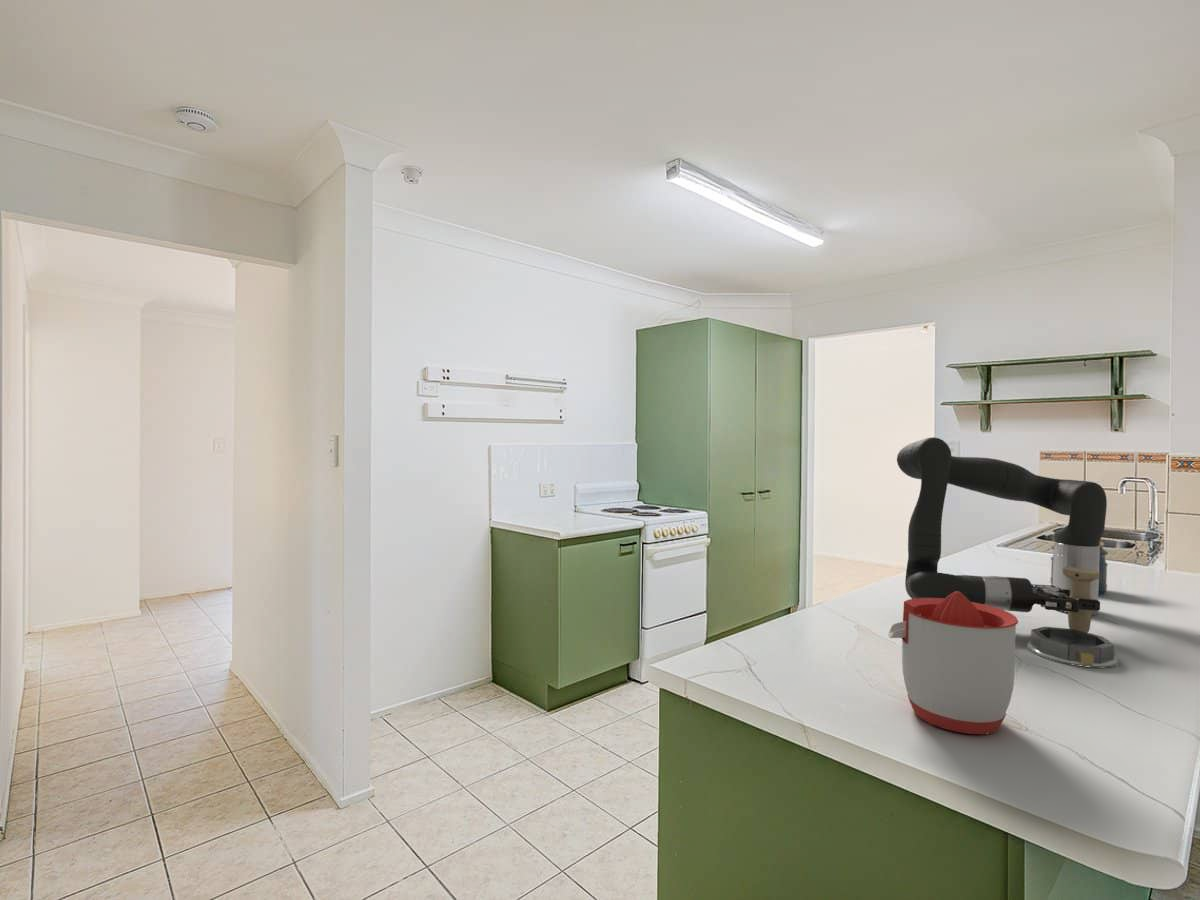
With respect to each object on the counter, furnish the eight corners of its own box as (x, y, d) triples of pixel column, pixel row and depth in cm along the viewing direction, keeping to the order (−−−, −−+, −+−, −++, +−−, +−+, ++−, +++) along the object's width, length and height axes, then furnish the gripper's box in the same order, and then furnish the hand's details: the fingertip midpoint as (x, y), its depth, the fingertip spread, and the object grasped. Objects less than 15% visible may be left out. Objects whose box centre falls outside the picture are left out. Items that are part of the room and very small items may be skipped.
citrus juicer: (884, 689, 106) (887, 574, 105) (1002, 707, 99) (1005, 585, 99) (889, 728, 91) (892, 596, 91) (1027, 753, 85) (1031, 610, 84)
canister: (1066, 594, 171) (1067, 532, 171) (1040, 583, 184) (1042, 525, 184) (1118, 597, 169) (1120, 534, 169) (1088, 585, 182) (1090, 527, 182)
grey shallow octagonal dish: (1017, 638, 133) (1017, 622, 133) (1096, 646, 128) (1097, 629, 128) (1042, 662, 119) (1043, 644, 119) (1132, 672, 114) (1133, 653, 114)
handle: (1093, 644, 130) (1095, 574, 130) (1057, 636, 135) (1059, 568, 135) (1100, 639, 133) (1102, 571, 133) (1065, 632, 138) (1067, 566, 138)
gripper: (1015, 584, 132) (1106, 591, 126) (995, 570, 145) (1077, 576, 140) (1014, 618, 132) (1105, 627, 127) (994, 601, 145) (1076, 608, 140)
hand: (1090, 600), depth 133 cm, fingers open, 8 cm apart
